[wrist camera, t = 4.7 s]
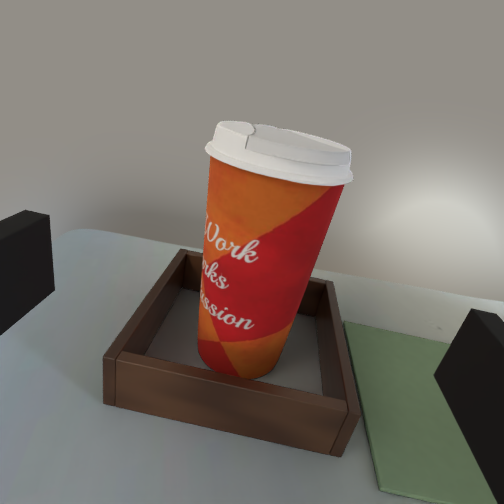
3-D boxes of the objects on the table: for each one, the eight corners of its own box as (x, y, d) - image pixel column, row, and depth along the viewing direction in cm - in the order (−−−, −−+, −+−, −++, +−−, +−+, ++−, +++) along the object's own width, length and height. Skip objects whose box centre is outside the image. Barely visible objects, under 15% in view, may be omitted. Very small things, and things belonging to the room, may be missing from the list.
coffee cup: (175, 313, 27) (198, 111, 20) (272, 311, 30) (319, 132, 23) (188, 403, 20) (227, 138, 13) (313, 389, 23) (396, 163, 16)
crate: (322, 314, 31) (333, 281, 29) (341, 458, 19) (362, 414, 17) (176, 282, 31) (180, 248, 29) (102, 404, 19) (102, 356, 17)
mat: (569, 373, 30) (571, 370, 30) (773, 580, 17) (778, 577, 17) (342, 323, 30) (344, 320, 30) (379, 490, 17) (381, 487, 17)
